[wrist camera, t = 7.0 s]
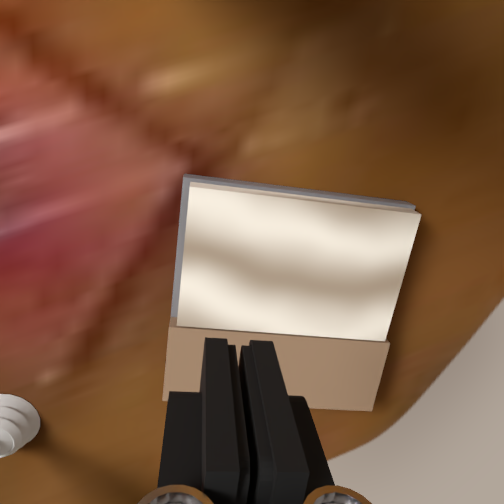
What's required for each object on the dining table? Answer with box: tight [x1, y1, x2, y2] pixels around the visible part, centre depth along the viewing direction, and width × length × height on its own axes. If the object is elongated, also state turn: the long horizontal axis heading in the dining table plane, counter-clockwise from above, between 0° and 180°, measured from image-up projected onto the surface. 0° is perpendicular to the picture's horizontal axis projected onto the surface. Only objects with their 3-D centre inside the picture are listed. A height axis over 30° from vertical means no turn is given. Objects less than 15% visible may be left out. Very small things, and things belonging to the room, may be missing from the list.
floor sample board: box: [162, 174, 416, 411], centre depth 31 cm, size 16×16×3 cm
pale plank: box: [177, 182, 422, 341], centre depth 29 cm, size 10×15×2 cm, turn 82°
